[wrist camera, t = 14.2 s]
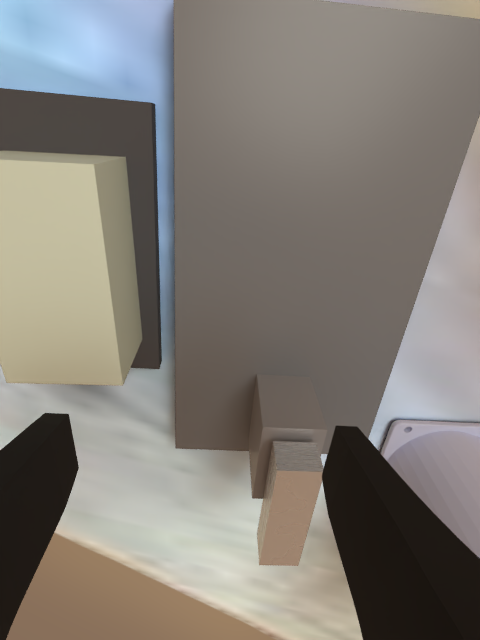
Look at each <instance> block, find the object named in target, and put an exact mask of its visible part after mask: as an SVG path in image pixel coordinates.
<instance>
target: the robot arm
mask: <svg viewBox="0 0 480 640" xmlns="http://www.w3.org/2000/svg"><path fill="white" fill-rule="evenodd" d="M406 427H407V428H406ZM78 468H79V467H78V461H77V456H76V451H75V446H74V440H73V435H72V430H71V424H70V419H69V414H54V413H44V414H43V415H42V416H41V417H40V418H38V419H37V420H36V421H35V422H34V423H32V424H31V425H30V426H29V427H28V428H26V429H25V430H24V431H23V432H22V433H20V434H19V435H18V436H17V437H16V438H14V439H13V440H12V441H11V442H10V443H9V444H7V445H6V446H5V447H4V448H3V449H1V450H0V640H6V638H7V635H8V633H9V630H10V627H11V625H12V623H13V620H14V618H15V616H16V614H17V611H18V609H19V606H20V604H21V602H22V600H23V598H24V595H25V594H26V591H27V589H28V587H29V585H30V583H31V581H32V579H33V576H34V574H35V572H36V570H37V568H38V566H39V564H40V561H41V559H42V557H43V555H44V553H45V551H46V549H47V546H48V544H49V542H50V540H51V538H52V536H53V534H54V531H55V529H56V527H57V525H58V523H59V520H60V518H61V516H62V514H63V512H64V509H65V507H66V504H67V502H68V499H69V496H70V493H71V490H72V487H73V484H74V481H75V478H76V475H77V471H78ZM322 481H323V487H324V493H325V499H326V504H327V510H328V515H329V518H330V522H331V526H332V529H333V533H334V536H335V540H336V543H337V547H338V550H339V553H340V557H341V560H342V564H343V567H344V571H345V574H346V577H347V581H348V584H349V588H350V591H351V595H352V598H353V601H354V605H355V608H356V612H357V616H358V620H359V624H360V628H361V632H362V637H363V640H480V423H461V422H438V421H415V420H396V421H394V422H393V423H392V424H391V427H390V429H389V432H388V435H387V437H386V440H385V443H384V445H383V448H382V451H381V453H380V452H379V451H378V450H377V449H376V448H375V446H374V445H373V444H372V443H371V442H370V441H369V439H368V438H367V437H366V436H365V435H364V434H363V432H362V431H361V430H360V429H359V428H358V427H357V426H335V430H334V434H333V437H332V441H331V444H330V448H329V452H328V455H327V459H326V462H325V466H324V469H323V473H322Z"/></svg>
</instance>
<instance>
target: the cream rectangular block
mask: <svg viewBox="0 0 480 640" xmlns="http://www.w3.org/2000/svg"><path fill="white" fill-rule="evenodd" d="M141 341H142V329H141V318H140V307H139V296H138V285H137V274H136V263H135V252H134V241H133V231H132V220H131V209H130V198H129V187H128V176H127V165H126V157H118V156H99V155H80V154H61V153H42V152H23V151H0V364H1V367H2V370H3V373H4V376H5V379H6V382H7V383H35V384H79V385H122V386H123V384H124V381H125V379H126V377H127V374H128V372H129V370H130V367H131V365H132V363H133V360H134V358H135V355H136V353H137V351H138V348H139V346H140V344H141Z"/></svg>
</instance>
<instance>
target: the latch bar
mask: <svg viewBox="0 0 480 640" xmlns="http://www.w3.org/2000/svg"><path fill="white" fill-rule="evenodd" d="M322 473H323V465H322V462H321V458H320V455H319V451H318V447H317V444H316V443H312V442H287V441H273V444H272V450H271V456H270V461H269V467H268V473H267V479H266V484H265V490H264V496H263V502H262V508H261V513H260V519H259V525H258V531H257V540H258V555H259V565H292V566H298V564H299V560H300V557H301V553H302V550H303V546H304V543H305V539H306V536H307V532H308V529H309V525H310V522H311V518H312V514H313V511H314V507H315V504H316V500H317V497H318V493H319V490H320V486H321V483H322Z"/></svg>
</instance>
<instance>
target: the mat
mask: <svg viewBox="0 0 480 640" xmlns="http://www.w3.org/2000/svg"><path fill="white" fill-rule="evenodd" d="M0 151H23V152H42V153H61V154H80V155H99V156H118V157H126V165H127V176H128V187H129V198H130V209H131V220H132V231H133V241H134V252H135V263H136V274H137V285H138V296H139V307H140V318H141V329H142V341H141V344H140V346H139V348H138V351H137V353H136V355H135V358H134V360H133V363H132V365H131V367H130V368H148V369H159V368H160V365H161V361H162V358H161V318H160V279H159V240H158V201H157V162H156V122H155V104H153V103H148V102H138V101H127V100H117V99H107V98H96V97H86V96H76V95H65V94H55V93H44V92H34V91H24V90H13V89H3V88H0Z"/></svg>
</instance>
